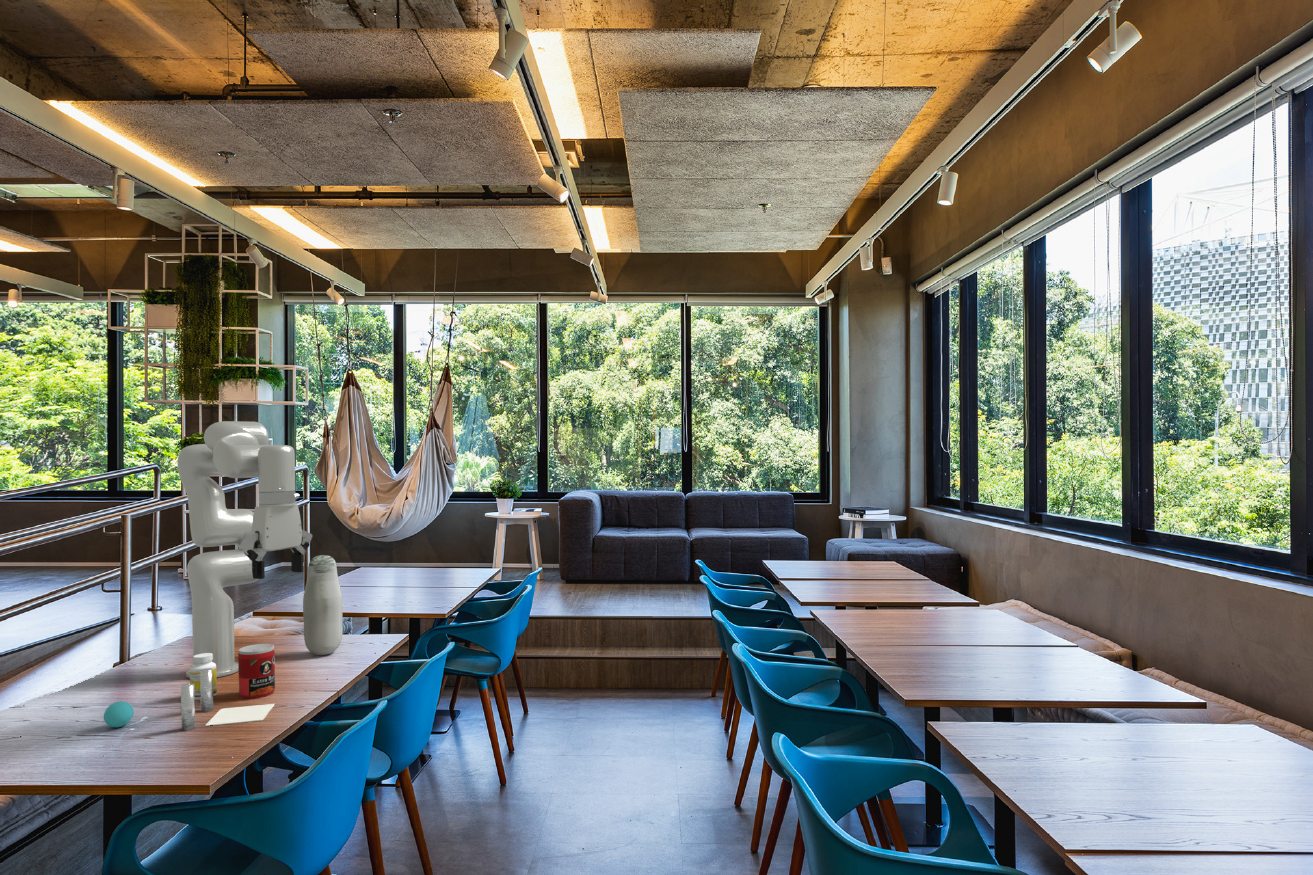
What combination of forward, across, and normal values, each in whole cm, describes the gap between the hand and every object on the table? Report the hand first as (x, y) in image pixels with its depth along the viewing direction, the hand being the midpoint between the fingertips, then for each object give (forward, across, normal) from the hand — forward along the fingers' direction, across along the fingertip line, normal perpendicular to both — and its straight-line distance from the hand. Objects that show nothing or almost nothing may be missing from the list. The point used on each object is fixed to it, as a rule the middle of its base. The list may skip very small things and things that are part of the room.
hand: (278, 575), depth 176 cm
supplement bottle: (+30, +3, -23) cm, 38 cm away
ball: (+27, +24, -20) cm, 41 cm away
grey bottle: (+30, -35, -30) cm, 55 cm away
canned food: (+30, -3, -13) cm, 32 cm away
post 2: (+29, +9, -13) cm, 33 cm away
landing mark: (+29, +8, -2) cm, 30 cm away
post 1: (+29, +18, -4) cm, 35 cm away
